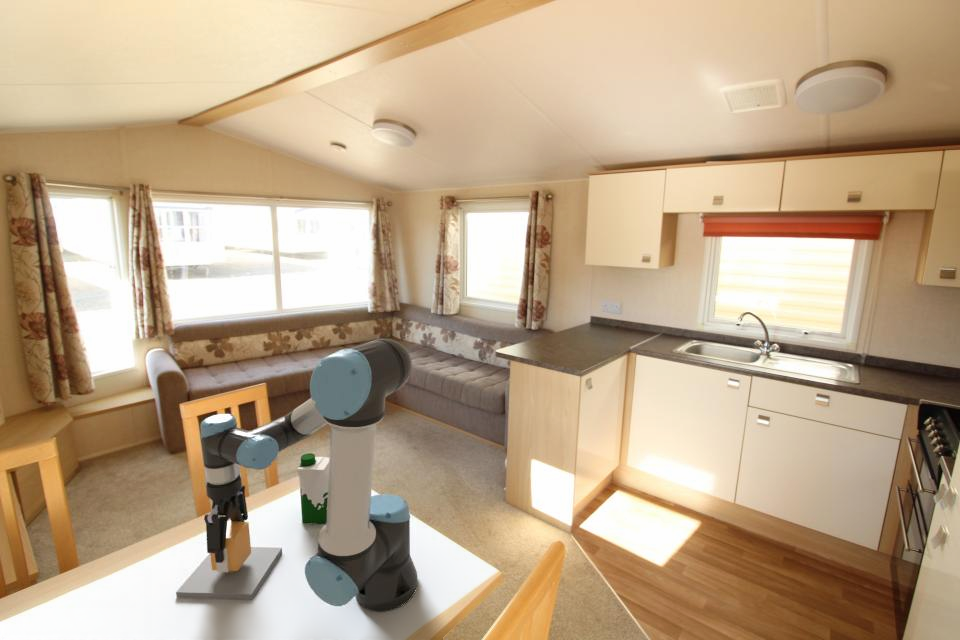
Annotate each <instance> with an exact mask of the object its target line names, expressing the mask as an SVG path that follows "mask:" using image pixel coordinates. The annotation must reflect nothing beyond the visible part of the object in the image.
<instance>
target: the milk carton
mask: <svg viewBox="0 0 960 640" xmlns="http://www.w3.org/2000/svg"><path fill="white" fill-rule="evenodd" d="M297 474H298V478H299V488H300V489H299V491H300V492H299V493H300V505H301V507H300V509H301V523H302V524H308V523H316V524H317V525H318V524H319V525H321V524H322V525H326V524H327V501H328V476H329V456H328V457H327V456H316V455H315V454H314V453H312V452H311V453H305V454H302V455H301V456H300V464H299V466H298V468H297Z"/></svg>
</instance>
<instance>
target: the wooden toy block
mask: <svg viewBox="0 0 960 640" xmlns="http://www.w3.org/2000/svg"><path fill="white" fill-rule="evenodd" d="M225 547H227V548H228V558H229V568H230V570H229V571H238V570H239V569H240V567H241V566H242V565H243V563H244V562H245V561H246V559H247V558H248V556H249V555H250V554H251V547H252V546H251V535H250V525H249V521H244V522H235V521H231V520H230V521H229V520H228V521H227V531H226V541H225ZM209 554H210V556H211V565H212V570H217V566H216V561H215V553H209Z"/></svg>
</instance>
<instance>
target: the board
mask: <svg viewBox="0 0 960 640" xmlns="http://www.w3.org/2000/svg"><path fill="white" fill-rule="evenodd" d="M282 553H283V547H266V546H265V547H264V546H251V554H250V555H249V556H248V558H247V559H246V561H245V562H244V563H243V565H242V566H241V567H240V569H239V570H238V571H228V572H217V570H212V565H211V556H210V553H208V555H207V556H206V557H205V558H204V559H203V561H201V563H200V564H199V565H198V566H197V568H196V569H195V570H194V571H192V573H191V574H190V576H189V577H188V578H187V579H186V580H185V581H184V583H182V585H180V587H179V588H178V589H177V590H176V591H175V596H176V599H178V598H179V599H209V600H211V599H216V600H249V601H251V600H253V599H254V597H255V596H256V594H257V593H258V591H259V590H260V588H261V586H262V585H263V584H264V581H266V579H267V578H268V575H269V574H270V573H271V570H272V569H273V567H274V566H275V564H276V563H277V561H278V560H279V558H280V557H281V555H282Z"/></svg>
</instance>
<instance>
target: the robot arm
mask: <svg viewBox="0 0 960 640" xmlns="http://www.w3.org/2000/svg"><path fill="white" fill-rule="evenodd" d="M412 370H413V361H412V358H411V355H410V353H409V351H408V350H407V348H406V347H405V346H404V345H403V344H402V343H400V342H399V341H396V340H394V339H390V338H377V339H374V340H373V339H372V340H370V341H368V342H365V343H362V344H359V345H356V346H352V347H350V348H343V349H341V350H337V351H336V352H334V353H332V354H330V355H327V356H326V357H324V358H323V359H321V360H320V361H319V362H318V363H317V364H316V366H315V367H314V369H313V370H312V371H313V372H312V373H311V377H310V382H309V393H310V398H309V399H307V400H306V401H305V402H303V403H302V404H300V405H298V406H297V407H295V408H294V409H292V410H291V411H290V412H288V413H287V414H285V415H283V416H281V417H278V418H277V419H274V420H272V421H269V422H268V423H265V424H262V425H261V426H258V427H256V428H253V429H251V430H247V429H243V428H241V427H238V422H237V418H236V416H235V415H234V414H232V413H220V414H213V415H210V416H208V417H205V419H204V418H203V420H202V421H201V422H200V426H199V427H200V436H199V439H200V444H201V452H202V458H203V461H202V462H203V468H204V476H205V481H206V482H205V487H206V490H205V491H206V496H207V497H208V499H210V500H211V502H212V505H211V511H210V513H208V514H207V513H206V514H205V515H204V517H203V519H204V522H205V530H206V551H207V554H210V553H215V561H216V566H217V572H228V571H229V570H230V568H229V558H228V548H227V547H225V541H226V531H227V521H229V520H230V521H235V522H246V521H247V520H248V519H249V515H248V508H247V501H246V494H245V493H246V486H245V485H243V482H242V474H241V473H242V472H241V471H242V469H241V466H242V467H243V468H246V469H253V470H255V471H256V470H257V471H259V470H260V471H261V470H264V469H267V468H269V467H270V466H272V463H273V462H274V461H275V460H276V459H277V457H278V454H279V453H280V452H281V451H283V450H285V449H287V448H289V447H291V446H293V445H295V444H297V443H298V442H301V441H303V440H305V439H307V438H309V437H311V436H312V435H313V434H315V432H316V431H318V430H319V429H320V430H321V428H322V427H325V426H326V425H327V424H328V425H329V426H330V427H329V428H330V431H329V432H330V433H329V434H330V435H329V450H328V451H329V453H328V454H329V456H328V457H329V476H328V501H327V522H326V524H324V525H323V526H322V528H321V529H320V531H319V534H318V539H317V541H318V542H317V552H316V553H315V554H314V555H312V556H311V557H310V558H309V560H308V561H307V562H306V564H305V566H304V575H305V579H306V581H307V583H308V586H309V587H310V589H311V591H312V592H313V593H314V594H315V595H316V596H317V597H318V598H319V599H320V600H321V601H323V602H324V603H326V604H328V605H329V606H333V607H342V606H345V605H347V604H348V603H350V601H352V599H354V598H355V599H356V601H357V602H358V603H359V604H360V606H362V607H363V606H364V607H363V608H365V609H367V608H368V610H369V609H370V611H373V610H374V611H375V612H388V611H391V610H390V609H392V610H395V609H397V607H398V606H400V607H401V605H402V604H404V603H405V602H406V603H408V602H409V601H410V600H411V599H412V598H413V596H414V595H415V593H416V592H415V590H416V591H417V589H416V588H418V572H417V569H416V567H415V566H416V565H415V564H414V561H413V559H412V557H411V551H410V550H411V543H410V542H411V538H410V537H411V533H410V531H411V529H410V528H411V527H410V524H411V523H410V522H411V521H410V520H411V514H410V507H409V504H408V502H407V501H406V500H405V499H404V498H402V497H400V496H398V495H396V494H390V493H389V494H386V493H383V494H375V495H372V490H373V489H372V486H373V473H374V472H373V471H374V458H375V457H374V455H375V445H376V444H375V443H376V442H375V440H376V427H377V425H378V424H379V423H380V422H381V421H382V420H384V417H385V408H386V407H385V406H386V398H387V397H388V396H389V395H391V394H393V393H396V392H397V391H398V390H400V389H401V388H402V387H404V385H405V384H406V383H407V382H408V380H409V378H410V377H411V374H412ZM414 592H415V593H414ZM413 594H414V595H413ZM412 595H413V596H412ZM411 597H412V598H411ZM410 598H411V599H410ZM409 599H410V600H409ZM408 600H409V601H408ZM407 601H408V602H407ZM406 603H405V604H406ZM405 604H404V605H405ZM402 606H403V605H402ZM394 608H395V609H394ZM398 608H399V607H398ZM387 610H388V611H387ZM374 611H373V612H374Z"/></svg>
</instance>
